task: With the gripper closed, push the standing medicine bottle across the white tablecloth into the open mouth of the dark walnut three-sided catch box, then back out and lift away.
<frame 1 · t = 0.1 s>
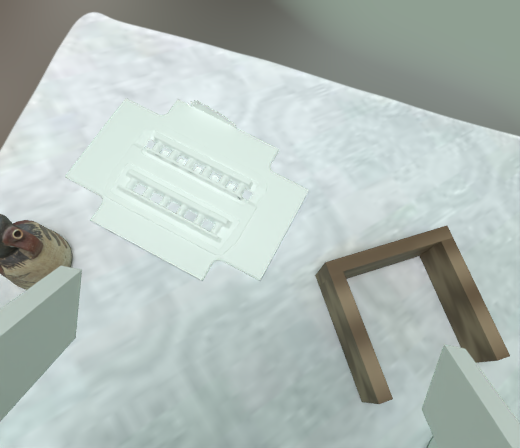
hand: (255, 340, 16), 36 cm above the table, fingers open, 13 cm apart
catch box: (397, 320, 53), on the table
figurine: (43, 262, 52), on the table
tray: (189, 186, 58), on the table
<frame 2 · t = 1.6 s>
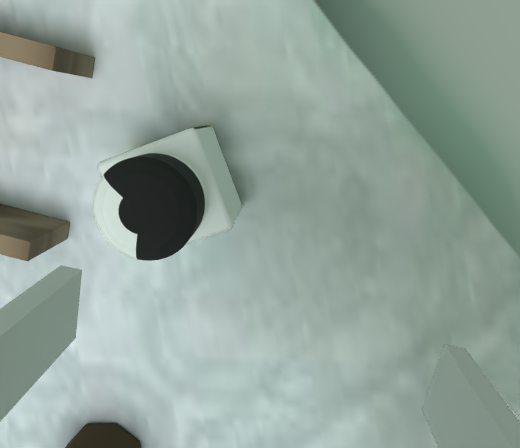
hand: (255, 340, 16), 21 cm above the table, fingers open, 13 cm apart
medicine bottle: (188, 181, 36), on the table
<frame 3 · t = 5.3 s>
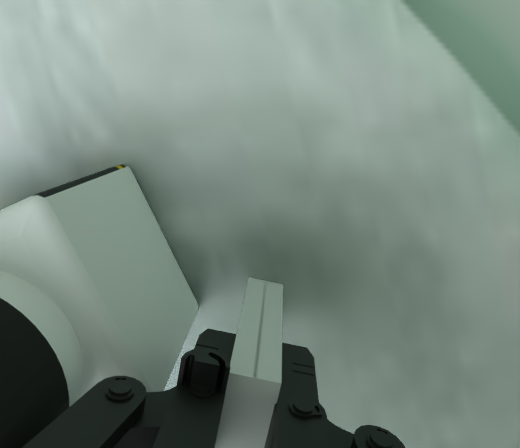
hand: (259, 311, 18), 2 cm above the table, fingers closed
medicine bottle: (98, 265, 20), on the table, touching gripper, hand
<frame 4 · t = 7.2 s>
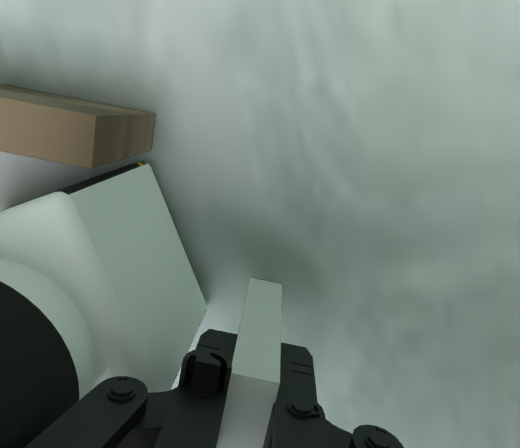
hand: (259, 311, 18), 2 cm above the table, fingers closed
medicine bottle: (110, 258, 20), on the table, touching gripper, hand
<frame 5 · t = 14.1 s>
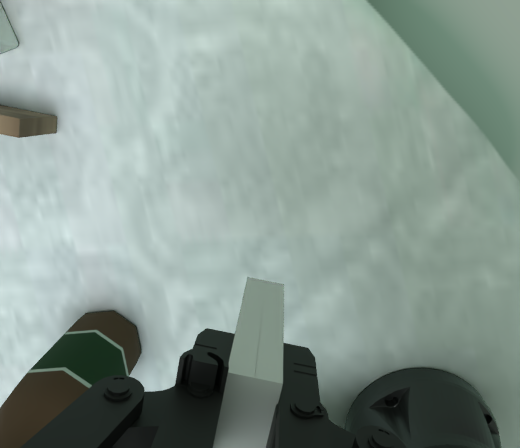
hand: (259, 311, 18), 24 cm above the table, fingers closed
beer bottle: (108, 339, 47), on the table
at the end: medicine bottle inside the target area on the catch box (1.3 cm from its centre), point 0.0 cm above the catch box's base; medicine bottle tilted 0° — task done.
